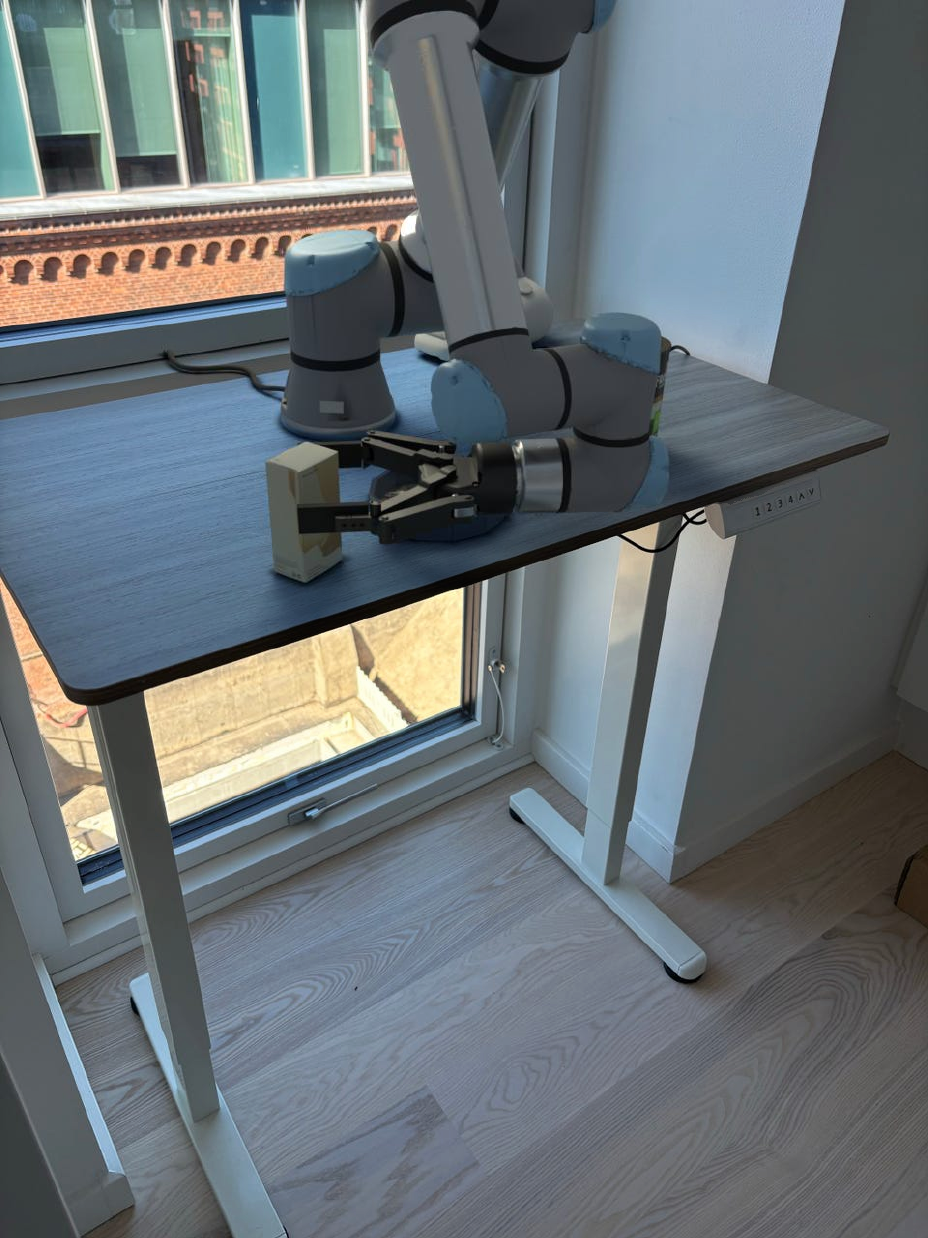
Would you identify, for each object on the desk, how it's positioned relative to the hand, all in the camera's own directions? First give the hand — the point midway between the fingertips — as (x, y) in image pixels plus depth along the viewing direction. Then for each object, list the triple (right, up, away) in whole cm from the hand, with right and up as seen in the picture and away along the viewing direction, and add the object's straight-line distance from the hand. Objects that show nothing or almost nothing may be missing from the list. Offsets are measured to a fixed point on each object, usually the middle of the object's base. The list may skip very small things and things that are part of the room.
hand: (297, 485), depth 94 cm
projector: (+19, +31, +63) cm, 73 cm away
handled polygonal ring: (+13, 0, +16) cm, 21 cm away
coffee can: (+36, +9, +31) cm, 48 cm away
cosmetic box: (0, -8, +5) cm, 9 cm away
